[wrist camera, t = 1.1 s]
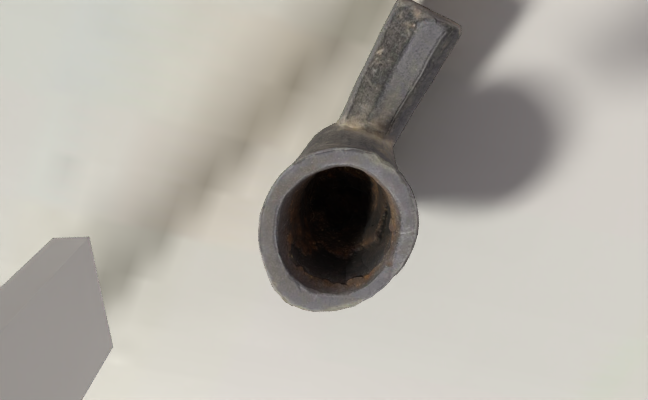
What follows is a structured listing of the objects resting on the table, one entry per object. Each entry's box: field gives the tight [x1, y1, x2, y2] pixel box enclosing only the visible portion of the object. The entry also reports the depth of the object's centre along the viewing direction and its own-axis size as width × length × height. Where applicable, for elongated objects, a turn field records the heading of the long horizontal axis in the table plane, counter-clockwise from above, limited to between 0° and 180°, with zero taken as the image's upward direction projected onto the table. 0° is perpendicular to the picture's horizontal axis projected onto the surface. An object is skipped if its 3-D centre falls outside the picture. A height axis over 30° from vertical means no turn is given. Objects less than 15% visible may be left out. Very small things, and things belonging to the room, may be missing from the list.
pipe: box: [258, 0, 461, 312], centre depth 24 cm, size 6×13×8 cm, turn 155°
